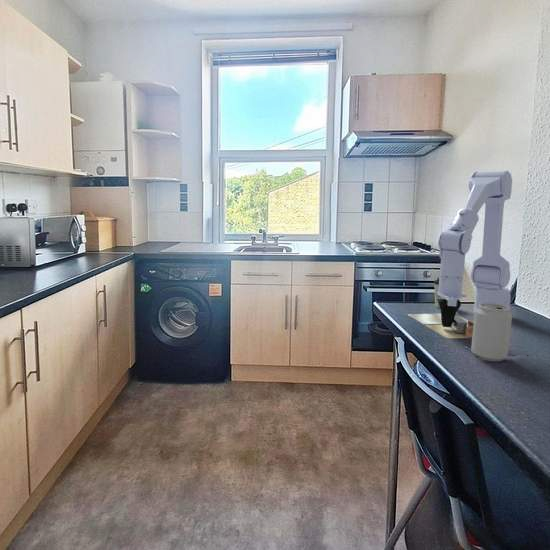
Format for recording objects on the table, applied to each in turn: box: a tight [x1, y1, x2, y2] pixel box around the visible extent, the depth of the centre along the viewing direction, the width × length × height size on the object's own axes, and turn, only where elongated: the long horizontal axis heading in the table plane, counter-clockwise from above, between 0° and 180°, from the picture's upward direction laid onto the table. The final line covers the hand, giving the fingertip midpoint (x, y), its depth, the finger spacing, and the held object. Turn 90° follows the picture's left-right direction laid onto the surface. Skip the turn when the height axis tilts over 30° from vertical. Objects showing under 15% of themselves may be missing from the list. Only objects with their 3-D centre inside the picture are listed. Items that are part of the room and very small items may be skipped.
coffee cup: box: [433, 277, 444, 309], centre depth 140 cm, size 7×7×10 cm
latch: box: [451, 311, 467, 333], centre depth 117 cm, size 11×3×3 cm, turn 173°
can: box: [470, 303, 513, 362], centre depth 98 cm, size 8×8×12 cm
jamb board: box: [406, 313, 474, 340], centre depth 121 cm, size 15×23×5 cm, turn 8°
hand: (446, 326), depth 116 cm, fingers closed, pressing on latch
